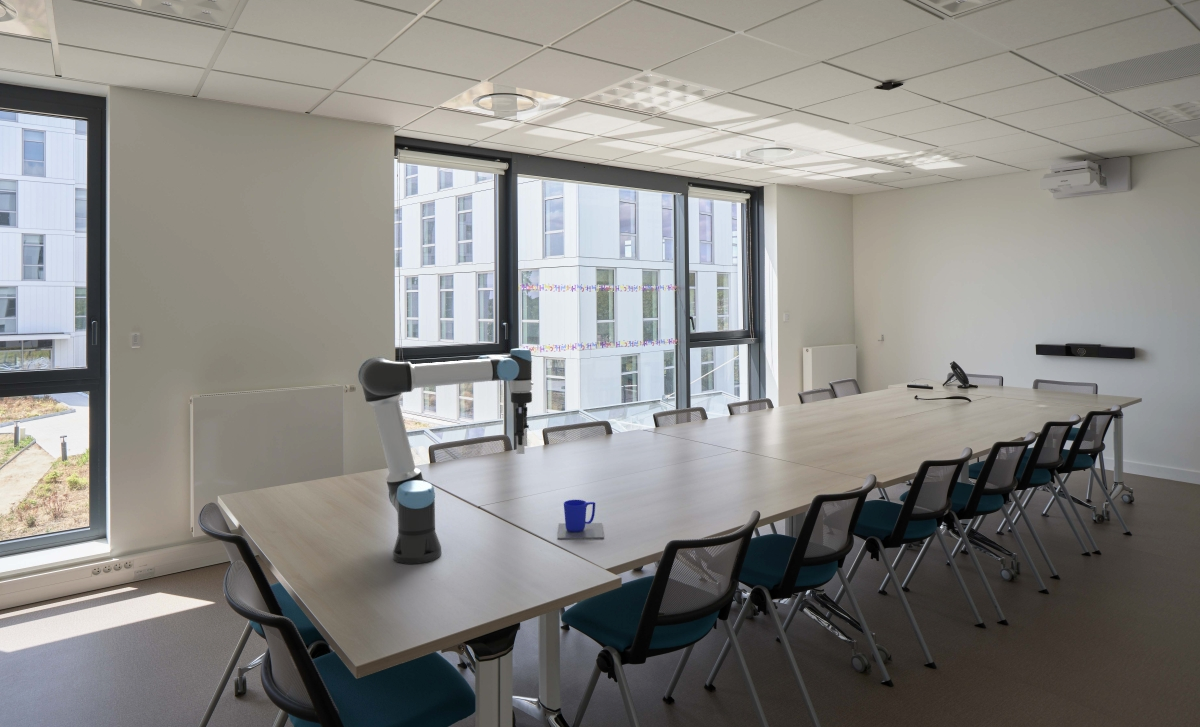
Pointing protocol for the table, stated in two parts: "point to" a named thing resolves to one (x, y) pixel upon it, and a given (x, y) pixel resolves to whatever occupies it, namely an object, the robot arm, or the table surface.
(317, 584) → the table surface
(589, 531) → the coaster
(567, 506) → the mug
